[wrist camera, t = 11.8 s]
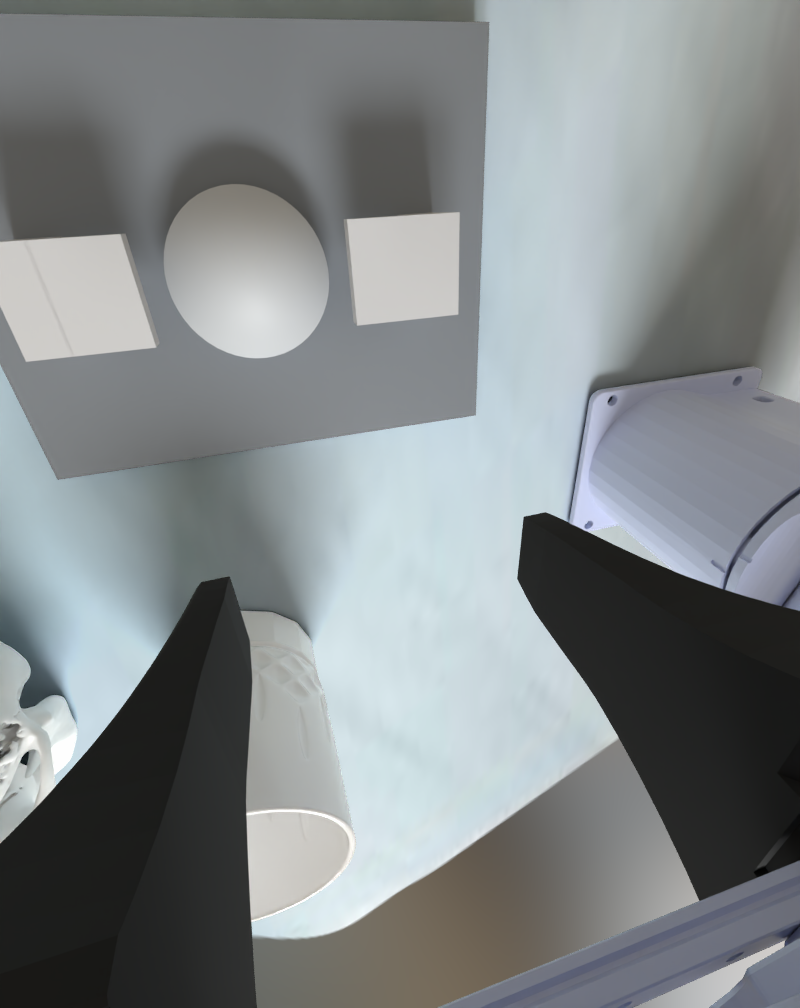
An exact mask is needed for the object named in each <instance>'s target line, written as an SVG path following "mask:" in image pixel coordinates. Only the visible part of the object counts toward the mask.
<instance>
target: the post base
mask: <svg viewBox="0 0 800 1008" xmlns="http://www.w3.org/2000/svg"><path fill="white" fill-rule="evenodd" d="M488 42H489V22H455V21H399V20H342V19H286V18H230V17H173V16H117V15H61V14H4V13H0V365H1V367H2V369H3V371H4V373H5V375H6V377H7V379H8V381H9V383H10V385H11V387H12V389H13V391H14V393H15V395H16V397H17V399H18V401H19V403H20V405H21V407H22V409H23V411H24V413H25V415H26V417H27V419H28V421H29V423H30V425H31V427H32V429H33V431H34V433H35V435H36V437H37V439H38V441H39V443H40V445H41V447H42V449H43V451H44V453H45V455H46V457H47V459H48V461H49V463H50V465H51V467H52V469H53V471H54V473H55V475H56V477H57V479H58V480H59V479H65V478H72V477H78V476H85V475H91V474H97V473H104V472H110V471H117V470H123V469H130V468H136V467H143V466H149V465H156V464H162V463H169V462H175V461H182V460H188V459H195V458H201V457H208V456H214V455H221V454H227V453H234V452H240V451H247V450H253V449H260V448H266V447H273V446H279V445H286V444H292V443H299V442H305V441H312V440H318V439H325V438H331V437H338V436H344V435H351V434H357V433H363V432H370V431H376V430H383V429H389V428H396V427H402V426H409V425H415V424H422V423H428V422H435V421H441V420H448V419H454V418H461V417H467V416H474V415H476V389H477V360H478V331H479V302H480V273H481V244H482V215H483V186H484V157H485V128H486V100H487V71H488Z"/></svg>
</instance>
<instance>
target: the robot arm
mask: <svg viewBox="0 0 800 1008" xmlns="http://www.w3.org/2000/svg"><path fill="white" fill-rule="evenodd" d="M761 378H762V370H761V369H760V368H757V367H745V368H739V369H732V370H725V371H719V372H712V373H706V374H699V375H692V376H686V377H679V378H672V379H666V380H659V381H653V382H646V383H639V384H633V385H626V386H620V387H613V388H606V389H600V390H597V391H596V392H594V393H593V395H592V396H591V397H590V400H589V406H588V412H587V418H586V424H585V430H584V436H583V442H582V448H581V454H580V460H579V466H578V472H577V478H576V484H575V490H574V496H573V502H572V508H571V514H570V520H569V523H568V522H566V521H564V520H562V519H560V518H558V517H555V516H553V515H551V514H548V513H546V512H545V513H540V514H535V515H531V516H526V517H524V520H523V529H522V539H521V549H520V558H519V568H518V578H517V579H518V581H519V583H520V585H521V587H522V589H523V591H524V593H525V595H526V597H527V599H528V601H529V602H530V604H531V606H532V608H533V610H534V611H535V613H536V614H537V616H538V617H539V619H540V620H541V622H542V623H543V624H544V626H545V627H546V629H547V630H548V631H549V633H550V634H551V636H552V637H553V638H554V640H555V641H556V643H557V644H558V645H559V647H560V648H561V649H562V651H563V652H564V654H565V655H566V656H567V658H568V659H569V661H570V662H571V663H572V665H573V666H574V667H575V669H576V670H577V672H578V673H579V674H580V676H581V677H582V678H583V680H584V681H585V683H586V684H587V686H588V687H589V689H590V690H591V692H592V693H593V695H594V696H595V698H596V699H597V701H598V703H599V704H600V706H601V708H602V709H603V711H604V713H605V715H606V716H607V718H608V720H609V721H610V723H611V725H612V727H613V728H614V730H615V732H616V733H617V735H618V737H619V739H620V741H621V742H622V744H623V746H624V748H625V750H626V752H627V753H628V755H629V757H630V759H631V761H632V762H633V764H634V766H635V768H636V770H637V771H638V774H639V775H640V777H641V779H642V781H643V783H644V785H645V787H646V789H647V791H648V793H649V795H650V797H651V799H652V801H653V803H654V805H655V807H656V809H657V811H658V813H659V815H660V817H661V819H662V821H663V823H664V825H665V827H666V829H667V831H668V833H669V835H670V837H671V840H672V842H673V844H674V846H675V848H676V850H677V852H678V854H679V857H680V859H681V861H682V863H683V865H684V867H685V869H686V871H687V874H688V876H689V878H690V880H691V883H692V885H693V887H694V889H695V892H696V894H697V896H698V898H699V902H696V903H694V904H691V905H689V906H686V907H684V908H681V909H679V910H677V911H674V912H672V913H669V914H667V915H664V916H662V917H659V918H657V919H654V920H652V921H650V922H647V923H645V924H642V925H640V926H637V927H635V928H632V929H630V930H627V931H625V932H622V933H620V934H617V935H615V936H612V937H610V938H608V939H605V940H603V941H600V942H598V943H595V944H593V945H590V946H588V947H585V948H583V949H580V950H578V951H576V952H573V953H571V954H568V955H566V956H563V957H561V958H558V959H556V960H553V961H551V962H548V963H546V964H544V965H541V966H539V967H536V968H534V969H531V970H529V971H527V972H524V973H521V974H519V975H516V976H514V977H512V978H510V979H507V980H504V981H502V982H499V983H497V984H494V985H492V986H490V987H487V988H485V989H482V990H480V991H477V992H475V993H472V994H470V995H467V996H465V997H462V998H460V999H458V1000H455V1001H453V1002H450V1003H448V1004H445V1005H443V1006H440V1007H438V1008H633V1007H635V1006H638V1005H640V1004H642V1003H644V1002H647V1001H649V1000H651V999H654V998H656V997H658V996H660V995H663V994H665V993H667V992H669V991H672V990H674V989H676V988H678V987H681V986H683V985H685V984H687V983H690V982H692V981H694V980H696V979H698V978H701V977H703V976H705V975H708V974H710V973H712V972H714V971H717V970H719V969H721V968H723V967H726V966H728V965H730V964H732V963H734V962H737V961H739V960H741V959H744V958H746V957H748V956H750V955H753V954H755V953H757V952H759V951H762V950H764V949H766V948H769V947H771V946H773V945H775V944H777V943H780V942H782V941H784V940H786V941H785V946H784V947H783V948H782V949H780V950H778V951H777V952H775V953H773V954H771V955H770V956H768V957H766V958H764V959H763V960H761V961H759V962H757V963H756V964H754V965H752V966H751V967H749V968H748V969H747V971H746V973H745V975H744V977H743V979H742V980H741V981H740V982H739V983H738V984H737V985H736V986H735V987H734V988H733V989H732V990H731V991H730V992H728V993H727V994H726V995H724V996H723V997H722V998H721V999H719V1000H718V1001H717V1002H715V1003H714V1004H713V1005H712V1006H710V1007H709V1008H800V403H798V402H795V401H792V400H789V399H786V398H783V397H780V396H777V395H774V394H772V393H769V392H766V391H763V390H760V389H758V386H759V383H760V380H761ZM611 396H612V399H611V401H610V402H609V403H608V399H609V398H610V397H611ZM587 522H588V523H587ZM586 523H587V524H586ZM617 525H619V526H621V527H622V528H623V529H624V530H625V531H626V532H628V533H629V534H630V535H631V536H632V537H634V538H635V539H636V540H637V541H638V542H640V543H641V544H642V545H643V546H644V547H646V548H647V549H648V550H649V551H650V552H651V553H653V554H654V555H655V556H656V557H657V558H659V559H660V560H661V561H662V562H663V563H665V564H666V565H667V566H668V567H669V568H671V569H672V570H673V571H672V570H669V569H667V568H665V567H662V566H660V565H658V564H655V563H653V562H650V561H648V560H646V559H643V558H641V557H639V556H637V555H635V554H632V553H630V552H628V551H626V550H624V549H622V548H620V547H617V546H615V545H613V544H611V543H609V542H607V541H605V540H603V539H601V538H599V537H597V536H595V535H593V534H591V533H589V531H594V530H598V529H603V528H607V527H612V526H617ZM251 698H252V665H251V650H250V639H249V636H248V633H247V630H246V627H245V624H244V620H243V617H242V614H241V611H240V608H239V605H238V601H237V598H236V595H235V592H234V589H233V586H232V582H231V579H230V577H225V578H220V579H215V580H210V581H205V582H201V583H200V585H199V586H198V587H197V589H196V591H195V593H194V594H193V596H192V598H191V600H190V602H189V604H188V605H187V607H186V609H185V611H184V613H183V614H182V616H181V618H180V620H179V621H178V623H177V625H176V626H175V628H174V630H173V632H172V633H171V635H170V636H169V638H168V640H167V641H166V643H165V645H164V646H163V648H162V649H161V651H160V653H159V654H158V656H157V658H156V659H155V661H154V662H153V664H152V665H151V667H150V668H149V670H148V671H147V672H146V674H145V675H144V677H143V678H142V680H141V681H140V683H139V684H138V686H137V687H136V688H135V690H134V691H133V693H132V694H131V696H130V697H129V698H128V700H127V701H126V703H125V704H124V705H123V707H122V708H121V709H120V711H119V712H118V713H117V715H116V716H115V717H114V718H113V720H112V721H111V722H110V724H109V725H108V726H107V727H106V729H105V730H104V731H103V732H102V734H101V735H100V736H99V737H98V739H97V740H96V741H95V742H94V743H93V745H92V746H91V747H90V748H89V749H88V751H87V752H86V753H85V754H84V755H83V756H82V758H81V759H80V760H79V761H78V762H77V763H76V764H75V766H74V767H73V768H72V769H71V770H70V771H69V772H68V773H67V774H66V775H65V777H64V778H63V779H62V780H61V781H60V782H59V783H58V784H57V785H56V786H55V788H54V789H53V790H52V791H51V792H50V793H49V794H48V795H47V796H46V797H45V799H44V800H43V801H42V802H41V803H40V804H39V805H38V806H37V807H36V808H35V809H34V810H33V811H32V812H31V813H30V814H29V815H28V816H27V817H26V818H25V819H24V820H23V821H22V822H21V823H20V824H19V825H18V826H17V827H16V828H15V829H14V830H13V831H12V832H11V833H10V834H9V835H8V836H7V837H6V838H5V839H4V840H3V841H2V842H1V843H0V1008H257V1005H256V991H255V979H254V978H255V977H254V962H253V945H252V927H251V910H250V890H249V868H248V845H247V815H246V782H247V764H248V748H249V732H250V716H251Z"/></svg>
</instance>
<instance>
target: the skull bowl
mask: <svg viewBox="0 0 800 1008" xmlns="http://www.w3.org/2000/svg"><path fill="white" fill-rule="evenodd" d="M30 674H31V669H30V666H29V664H28V662H27V660H26V659H25V658H24V657H23V656H22V655H21V654H20V653H18V652H17V651H16V650H14V649H13V648H11V647H10V646H8V645H6V644H4V643H3V642H1V641H0V843H1V842H2V841H3V840H4V839H5V838H6V837H7V836H8V835H9V834H10V833H11V832H12V831H13V830H14V829H15V828H16V827H17V826H18V825H19V824H20V823H21V822H22V821H23V820H24V819H25V818H26V817H27V816H28V815H29V814H30V813H31V812H32V811H33V810H34V809H35V808H36V807H37V806H38V805H39V804H40V803H41V802H42V801H43V800H44V799H45V797H46V796H47V795H48V794H49V793H50V792H51V791H52V790H53V789H54V788H55V786H56V784H55V783H56V781H55V774H56V773H57V772H58V771H59V770H61V769H62V768H63V767H64V766H65V765H66V764H67V763H68V762H69V761H70V759H71V757H72V755H73V751H74V748H75V744H76V739H77V733H78V728H77V724H76V722H75V720H74V719H73V717H72V715H71V713H70V710H69V707H68V704H67V702H66V700H65V699H64V697H62V696H58V695H51V696H48V697H46V698H45V699H43V700H42V701H41V702H39V703H38V704H37V705H36V706H33V707H29V708H26V709H23V708H21V707H20V704H19V699H20V696H21V692H22V689H23V687H24V684H25V683H26V682H27V680H28V679H29V677H30ZM28 751H29V759H28V763H27V765H23V764H22V763H20V760H21V758H22V756H23V755H24V754H25V753H26V752H28Z"/></svg>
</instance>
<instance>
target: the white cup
mask: <svg viewBox="0 0 800 1008" xmlns="http://www.w3.org/2000/svg"><path fill="white" fill-rule="evenodd" d="M241 614H242V617H243V620H244V624H245V627H246V630H247V633H248V636H249V639H250V650H251V665H252V698H251V716H250V732H249V748H248V764H247V782H246V815H247V845H248V868H249V890H250V910H251V922H253V921H257V920H260V919H263V918H266V917H269V916H272V915H275V914H277V913H280V912H282V911H285V910H287V909H289V908H291V907H294V906H296V905H298V904H300V903H302V902H303V901H305V900H307V899H309V898H311V897H312V896H314V895H315V894H317V893H318V892H320V891H321V890H323V889H324V888H326V887H327V886H328V885H329V884H331V883H332V882H333V881H334V880H335V879H336V878H337V877H338V876H339V875H340V874H341V873H342V872H343V871H344V870H345V868H346V867H347V866H348V864H349V863H350V861H351V859H352V857H353V854H354V851H355V847H356V839H355V834H354V829H353V824H352V820H351V815H350V810H349V805H348V801H347V796H346V791H345V786H344V781H343V776H342V772H341V767H340V762H339V757H338V752H337V747H336V742H335V737H334V733H333V729H332V725H331V721H330V717H329V713H328V708H327V703H326V699H325V695H324V691H323V688H322V685H321V683H320V680H319V678H318V673H317V668H316V663H315V658H314V652H313V647H312V642H311V639H310V638H309V637H308V636H307V634H306V633H305V632H304V631H303V629H302V628H301V627H300V626H299V624H298V623H297V622H295V621H293V620H290V619H288V618H286V617H283V616H281V615H278V614H276V613H274V612H265V611H241Z"/></svg>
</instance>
